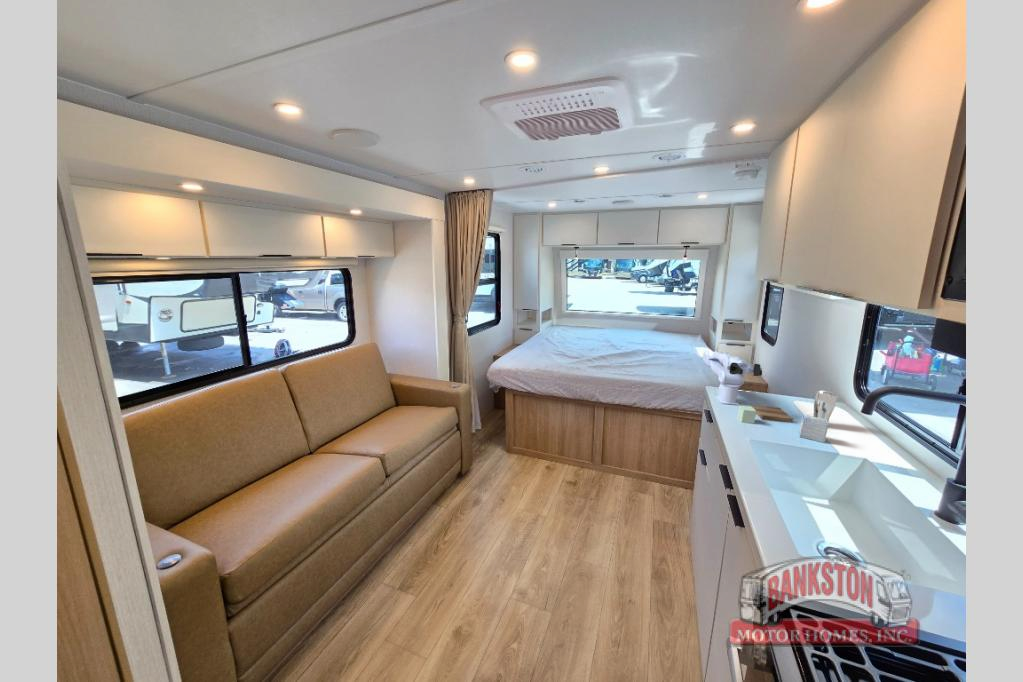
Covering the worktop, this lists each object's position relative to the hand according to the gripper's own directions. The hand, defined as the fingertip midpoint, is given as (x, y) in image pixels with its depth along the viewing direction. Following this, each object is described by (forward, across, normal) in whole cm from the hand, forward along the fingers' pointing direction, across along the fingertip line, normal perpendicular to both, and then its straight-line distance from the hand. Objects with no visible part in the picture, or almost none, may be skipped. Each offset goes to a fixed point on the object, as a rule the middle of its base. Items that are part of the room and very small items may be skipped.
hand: (751, 372), depth 157 cm
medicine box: (+12, +20, +23) cm, 33 cm away
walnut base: (-8, +14, +21) cm, 27 cm away
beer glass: (-3, +31, +22) cm, 38 cm away
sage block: (+1, 0, +22) cm, 22 cm away
